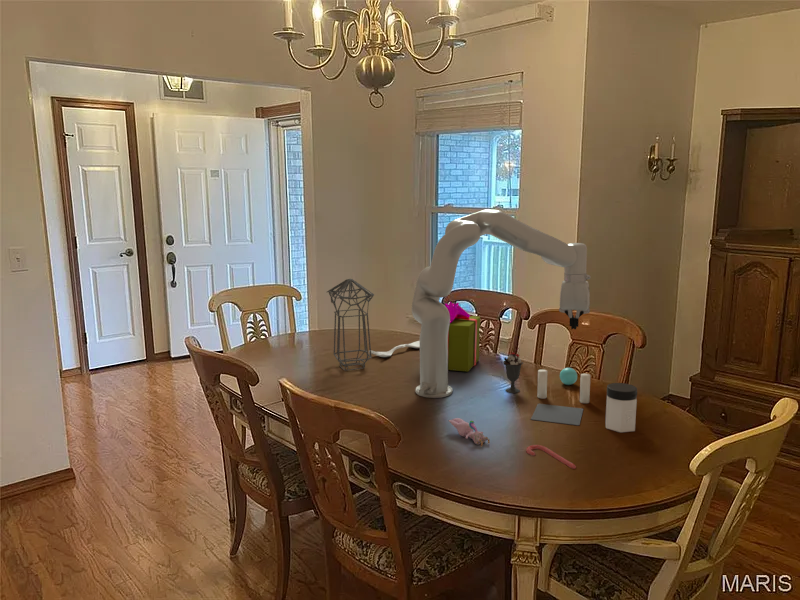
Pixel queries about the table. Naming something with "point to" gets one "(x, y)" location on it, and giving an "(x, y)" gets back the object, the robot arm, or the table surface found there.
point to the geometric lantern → (368, 295)
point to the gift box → (462, 338)
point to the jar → (621, 407)
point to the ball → (568, 376)
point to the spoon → (389, 353)
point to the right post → (584, 388)
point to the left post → (542, 384)
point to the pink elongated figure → (469, 430)
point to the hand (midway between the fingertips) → (573, 328)
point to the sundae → (513, 370)
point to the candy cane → (549, 454)
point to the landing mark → (557, 414)
